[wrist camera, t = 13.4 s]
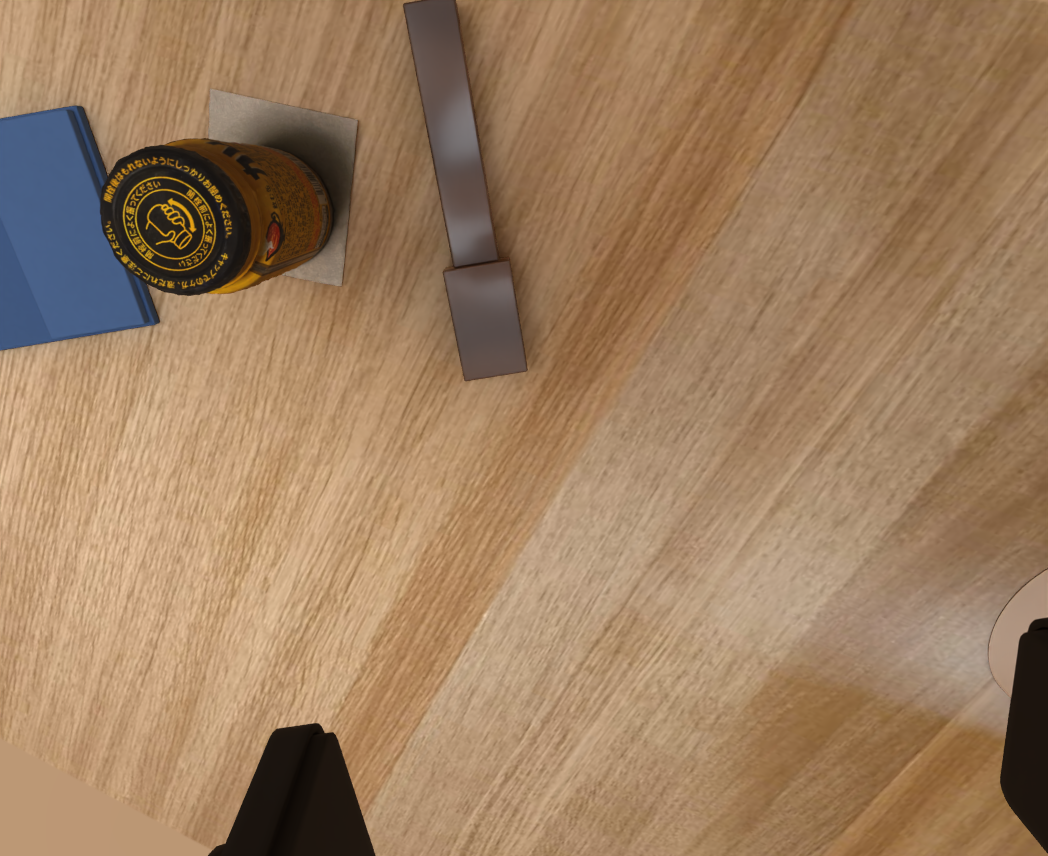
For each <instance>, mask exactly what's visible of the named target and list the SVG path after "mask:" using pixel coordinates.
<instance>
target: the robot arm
mask: <svg viewBox="0 0 1048 856" xmlns="http://www.w3.org/2000/svg"><path fill="white" fill-rule="evenodd" d="M1000 783H1001V788H1002V791H1003V794H1004V797H1005V799H1006V801H1007V802H1008V804H1009V806H1010V807H1011V809H1012V810H1013V812H1014V813H1015V814H1016V815H1017V816H1018V818H1019V819H1020V820H1021V821H1022V823H1023V824H1024V825H1025V826H1026V828H1027V829H1028V830H1029V831H1030V832H1031V834H1032V835H1033V836H1034V837H1035V839H1036V840H1037V841H1038V842H1039V843H1040V845H1041V846H1042V847H1043V848H1044V850H1045V851H1046V852H1047V853H1048V617H1047V618H1040V619H1036V620H1034V621H1033V622H1032V623H1031V624H1030V625H1029V628H1028V632H1025V633H1023V634H1022V635H1021V636H1020V639H1019V644H1018V652H1017V659H1016V666H1015V674H1014V681H1013V688H1012V695H1011V703H1010V710H1009V717H1008V725H1007V732H1006V739H1005V746H1004V754H1003V761H1002V768H1001V776H1000ZM208 856H375V853H374V849H373V846H372V843H371V840H370V837H369V834H368V831H367V828H366V825H365V822H364V819H363V816H362V813H361V810H360V807H359V804H358V800H357V797H356V794H355V791H354V788H353V785H352V782H351V779H350V776H349V773H348V770H347V767H346V764H345V761H344V758H343V754H342V751H341V748H340V745H339V742H338V739H337V737H336V735H335V734H334V733H333V732H331V733H324V730H323V728H322V726H321V725H320V724H319V723H314V724H307V725H300V726H293V727H286V728H279V729H276V730H275V731H274V732H273V733H272V735H271V736H270V738H269V740H268V743H267V745H266V748H265V750H264V752H263V755H262V757H261V760H260V762H259V764H258V767H257V769H256V772H255V774H254V776H253V779H252V781H251V784H250V786H249V788H248V791H247V793H246V796H245V798H244V800H243V803H242V805H241V808H240V810H239V812H238V815H237V817H236V820H235V822H234V824H233V827H232V829H231V832H230V834H229V837H228V839H227V841H226V844H222V845H219V846H216V848H215V849H214V850H213V851H212V852H211V853H210V854H209V855H208Z"/></svg>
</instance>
